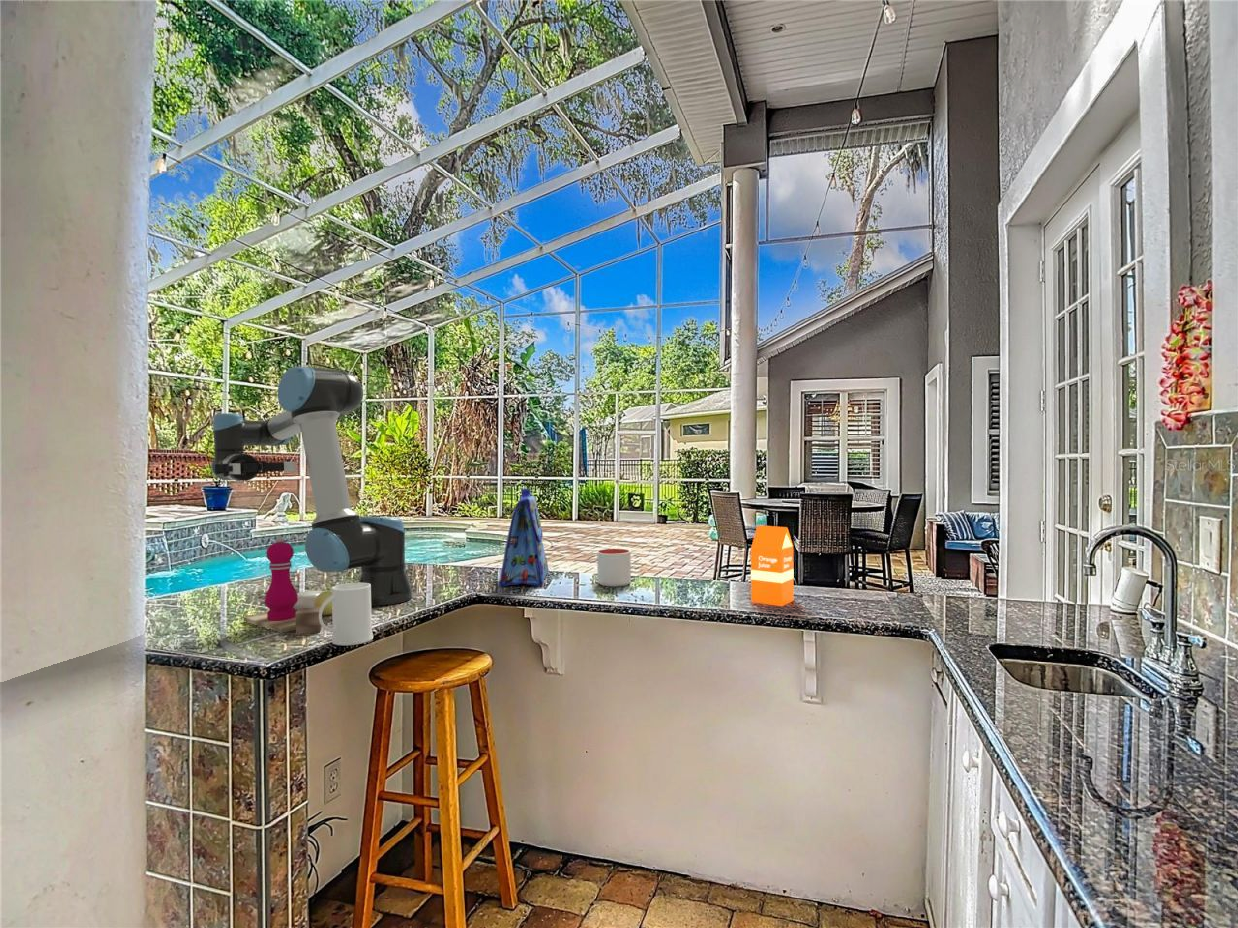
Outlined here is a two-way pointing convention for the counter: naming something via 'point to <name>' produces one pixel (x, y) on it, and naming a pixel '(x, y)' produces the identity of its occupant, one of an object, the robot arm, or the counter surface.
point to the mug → (350, 614)
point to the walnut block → (307, 621)
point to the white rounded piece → (306, 599)
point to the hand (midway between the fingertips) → (267, 467)
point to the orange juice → (772, 566)
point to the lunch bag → (524, 546)
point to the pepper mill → (280, 582)
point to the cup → (614, 567)
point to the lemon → (320, 601)
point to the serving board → (271, 622)
